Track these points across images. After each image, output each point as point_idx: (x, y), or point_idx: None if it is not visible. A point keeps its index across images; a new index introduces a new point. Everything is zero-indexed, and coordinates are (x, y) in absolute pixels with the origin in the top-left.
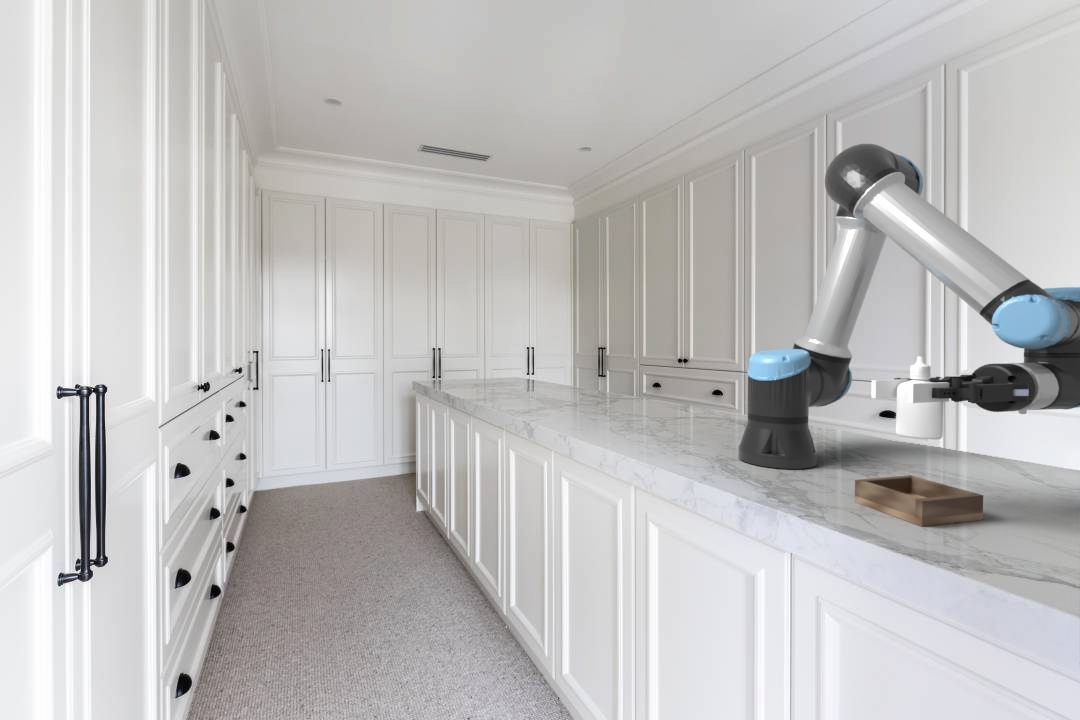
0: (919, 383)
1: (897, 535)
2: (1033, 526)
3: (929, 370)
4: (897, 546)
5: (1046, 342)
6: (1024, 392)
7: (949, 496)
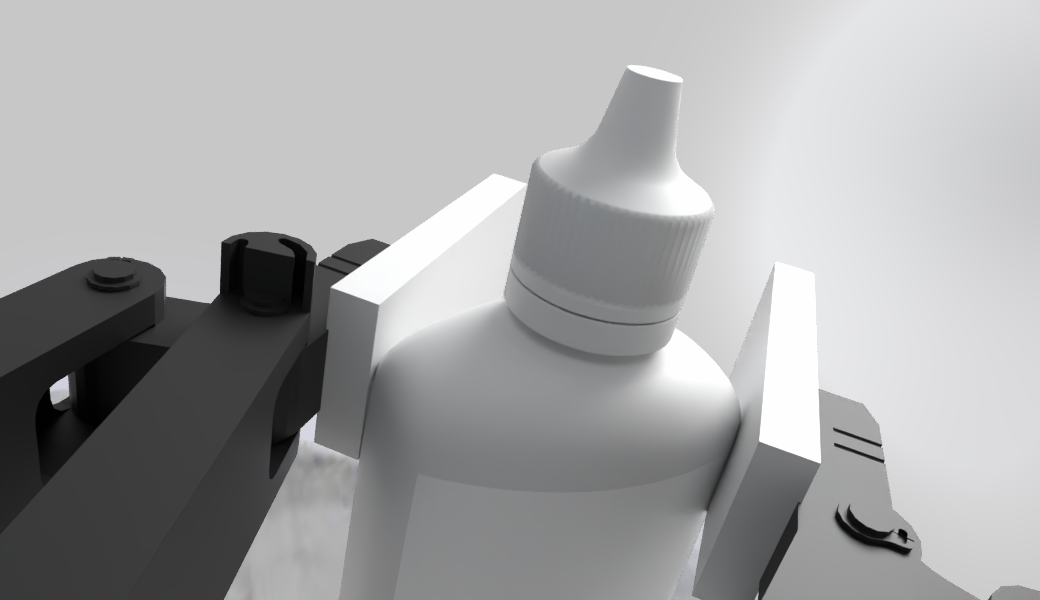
0: (477, 188)
1: None
2: None
3: (526, 206)
4: (353, 490)
5: None
6: None
7: None
